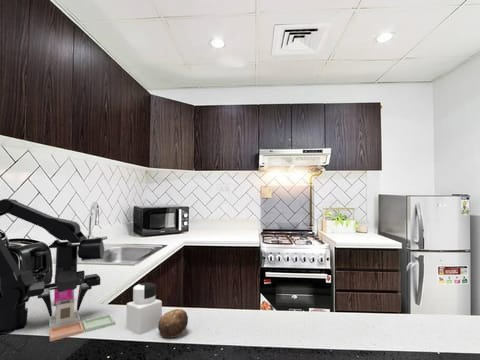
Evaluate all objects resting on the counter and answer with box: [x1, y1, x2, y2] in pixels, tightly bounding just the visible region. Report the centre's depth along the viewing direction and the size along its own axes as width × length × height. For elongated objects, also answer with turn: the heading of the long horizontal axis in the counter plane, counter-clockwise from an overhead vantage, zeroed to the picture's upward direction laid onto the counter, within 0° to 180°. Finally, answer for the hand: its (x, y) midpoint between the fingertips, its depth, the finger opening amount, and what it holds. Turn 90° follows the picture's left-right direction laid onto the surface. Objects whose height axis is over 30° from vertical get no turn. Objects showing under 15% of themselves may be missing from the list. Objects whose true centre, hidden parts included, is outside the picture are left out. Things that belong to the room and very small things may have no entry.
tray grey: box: [48, 311, 81, 330], centre depth 81 cm, size 8×8×1 cm
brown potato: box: [157, 308, 189, 339], centre depth 72 cm, size 8×8×6 cm
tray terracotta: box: [49, 320, 85, 342], centre depth 73 cm, size 8×8×1 cm
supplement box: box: [53, 289, 75, 307], centre depth 101 cm, size 6×6×12 cm
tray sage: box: [81, 313, 116, 333], centre depth 78 cm, size 8×8×1 cm
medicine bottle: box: [125, 282, 163, 335], centre depth 76 cm, size 7×7×12 cm
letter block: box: [55, 299, 75, 323], centre depth 82 cm, size 4×5×6 cm
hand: (64, 313), depth 82 cm, fingers open, 7 cm apart
